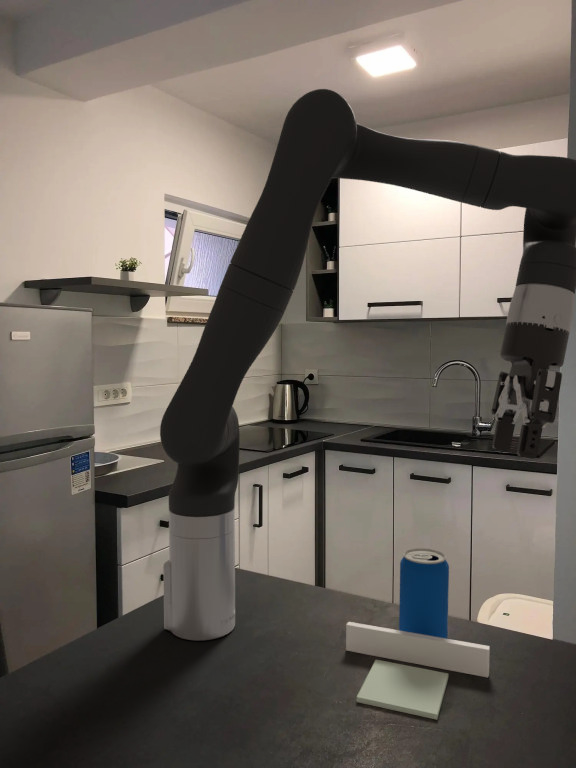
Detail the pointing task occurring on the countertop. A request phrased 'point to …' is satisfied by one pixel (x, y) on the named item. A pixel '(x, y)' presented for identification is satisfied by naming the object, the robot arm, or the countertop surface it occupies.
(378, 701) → the mat
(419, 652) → the low wall
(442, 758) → the countertop surface
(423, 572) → the beverage can
